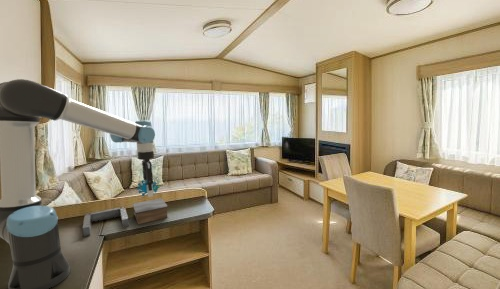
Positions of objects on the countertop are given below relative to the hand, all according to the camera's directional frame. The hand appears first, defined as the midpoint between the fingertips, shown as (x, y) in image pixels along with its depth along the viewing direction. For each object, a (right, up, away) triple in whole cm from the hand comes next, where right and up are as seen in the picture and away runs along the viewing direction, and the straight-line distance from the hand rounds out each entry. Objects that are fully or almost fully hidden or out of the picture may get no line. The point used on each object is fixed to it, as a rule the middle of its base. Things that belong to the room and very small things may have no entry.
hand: (149, 194), depth 126 cm
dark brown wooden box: (0, -12, +1) cm, 12 cm away
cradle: (-18, -13, -7) cm, 23 cm away
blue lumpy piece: (0, -1, 0) cm, 0 cm away
